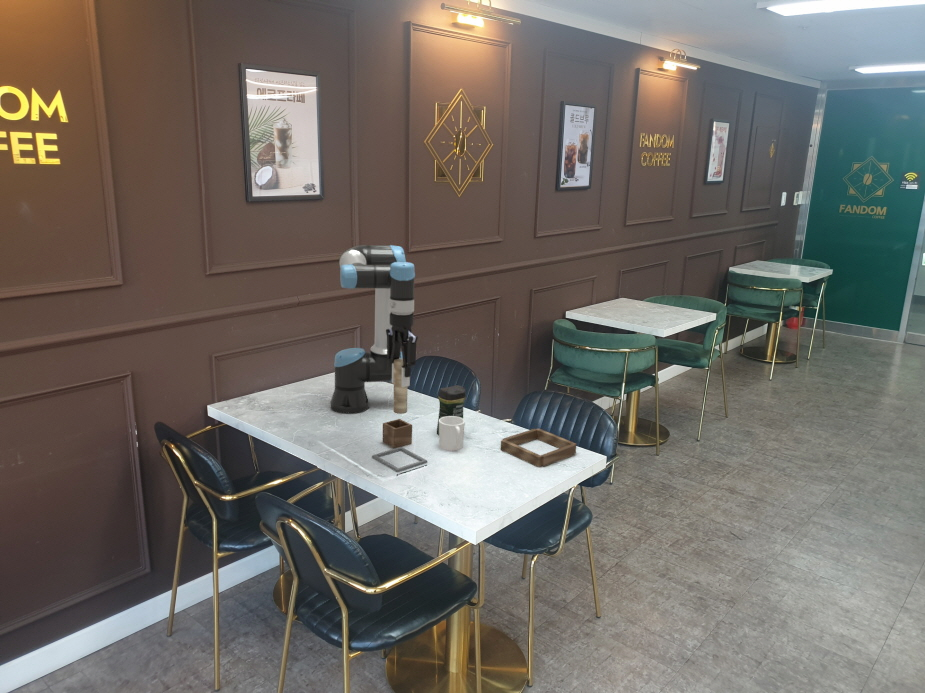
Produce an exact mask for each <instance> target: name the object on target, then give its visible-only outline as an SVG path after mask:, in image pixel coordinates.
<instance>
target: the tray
mask: <svg viewBox="0 0 925 693" xmlns="http://www.w3.org/2000/svg"><path fill="white" fill-rule="evenodd" d="M399 452H403V453H404V454H406V455H408V456H410V457H411V458H413V459H415V460H416V462H413V463H410V464H407V465H404V466H401V467H397V466H395V465H393V464H392V463H390V462H389V461H387V460H384V459H383V458H381V457H384V456H387V455H390V454H391V455H392V454H395V453H399ZM371 459H374V460H375V461H376V462H378V463H381V464H382V465H383V466H386V467H387V468H389V469H391V470H392V471H394V472H396V473H397V474H396V476H400V475H403V474H406V473H408V472H412V471H414V470H418V469H421V468H424V466H425V467H427V466H428V459H425V458H423V457H422V456H419V455H418V454H416V453H414V452H413V451H410V450H408V449H406V448H405V447H404V446H403V447H399V448H395V449H394V448H392V449H389V450H385V451H382V452H378V453H376V454H373V455H372V454H371ZM409 469H410V470H409Z"/></svg>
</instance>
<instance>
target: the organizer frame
mask: <svg viewBox="0 0 925 693" xmlns="http://www.w3.org/2000/svg"><path fill="white" fill-rule="evenodd" d="M535 440H538V441H540V442H543V443H545V444H547V445H550V446H552V447H555V448H556V449H553V450H552V451H551V450H550V451H549V452H546V453H543V454H538V453H536V452H534V451H531V450H529V449H527V448H526V447H525V448H524V447H522V446H521V445H523V444H526V443H529V442H533V441H535ZM500 451H502V452H504V453H506V454H508V455H511V456H512V457H515V458H517V459H519V460H522V461H524V462H526V463H528V464H530V465H533V466H535V467H537V468H541V467H546V466H550V465H551V464H554V463H558V462H560V461H562V460H565V459H567V458H570V457H573V456H575V455H576V453H577V442H576V443H575V442H573V441H572V440H568V439H565V438H563V437H561V436H558V435H556V434H554V433H551V432H548V431H546V430H544V429H541V428H539V427H538V428H531V429H529V430H525V431H523V432H522V431H521V432H520V433H516V434H513V435H511V436H507V437H504V438H502V439H501V440H500Z"/></svg>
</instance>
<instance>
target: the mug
mask: <svg viewBox="0 0 925 693" xmlns="http://www.w3.org/2000/svg"><path fill="white" fill-rule="evenodd" d="M465 423H466V420H465V419H464V417H463V418H460V417H456V416H446V417H442V418H440V419H439V435H438V447H439V449H441V450H444V451H452V452H453V451H458V450H459V451H460V450H462V449H463V445H464V435H465Z"/></svg>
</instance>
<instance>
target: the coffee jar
mask: <svg viewBox="0 0 925 693" xmlns="http://www.w3.org/2000/svg"><path fill="white" fill-rule="evenodd" d="M437 397H438V402H439V410H438V419H437V424H436V435H438V436H439V419H440V418H442V417H446V416H456V417H460V418H463V419H464V407H465V406H464V404H465V401H466V398H467V397H466V388H465V387H463V386H461V385H460V384H459V385H458V384H456V385H452V386H447V387H440V388H439V390H438V396H437Z"/></svg>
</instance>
